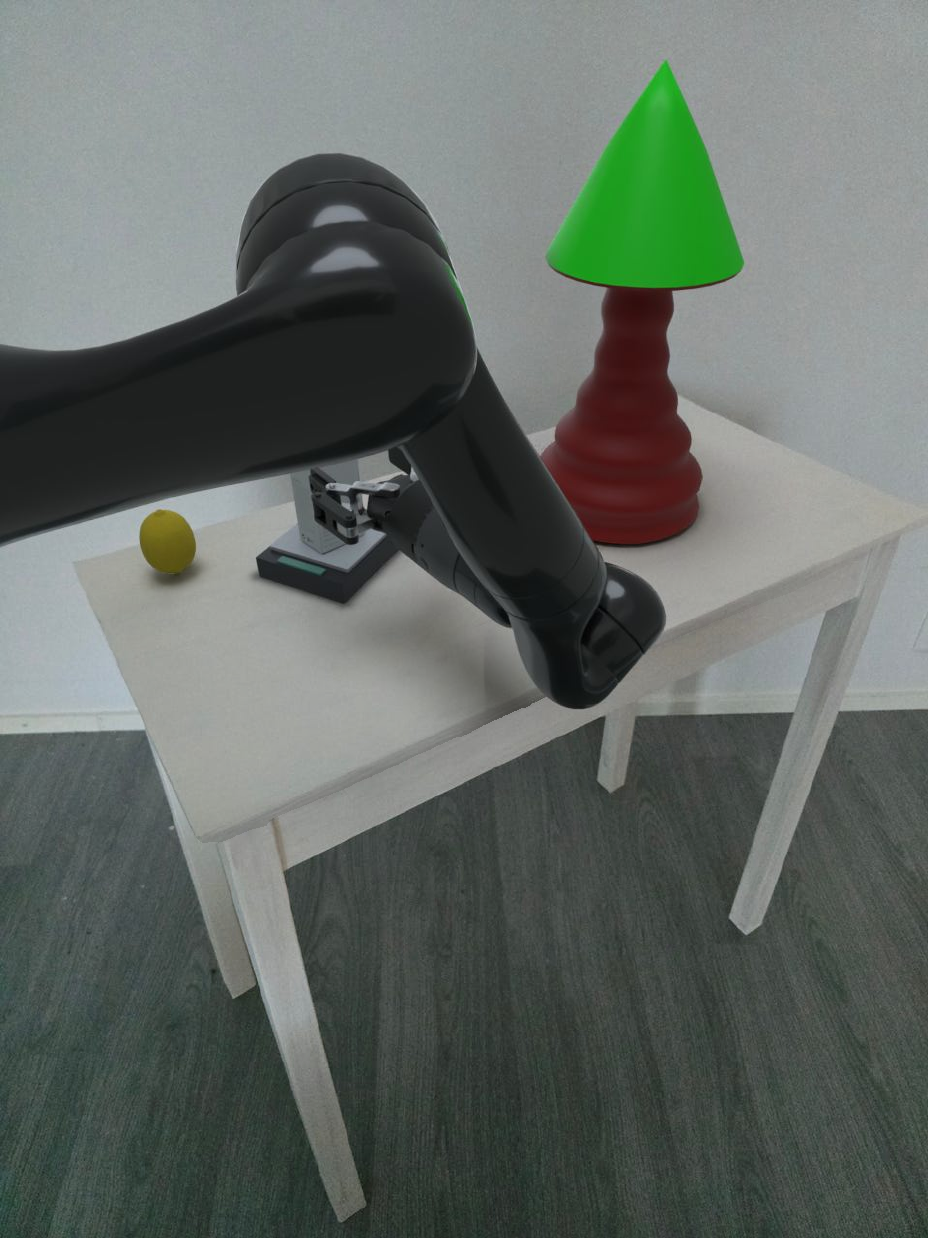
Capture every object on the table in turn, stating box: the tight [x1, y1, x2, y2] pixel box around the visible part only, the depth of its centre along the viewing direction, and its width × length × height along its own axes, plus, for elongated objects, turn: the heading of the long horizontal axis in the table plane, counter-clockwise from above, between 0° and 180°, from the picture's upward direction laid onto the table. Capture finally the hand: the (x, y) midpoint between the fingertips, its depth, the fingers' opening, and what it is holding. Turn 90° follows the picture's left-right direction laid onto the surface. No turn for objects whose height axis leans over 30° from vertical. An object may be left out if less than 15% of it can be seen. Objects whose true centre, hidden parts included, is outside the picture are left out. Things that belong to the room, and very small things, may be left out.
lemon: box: [138, 508, 197, 575], centre depth 88 cm, size 6×6×8 cm
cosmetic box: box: [289, 459, 365, 554], centre depth 87 cm, size 6×4×12 cm
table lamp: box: [539, 59, 745, 545], centre depth 87 cm, size 20×20×45 cm
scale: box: [255, 522, 399, 604], centre depth 92 cm, size 13×11×3 cm
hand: (353, 463), depth 80 cm, fingers open, 8 cm apart
